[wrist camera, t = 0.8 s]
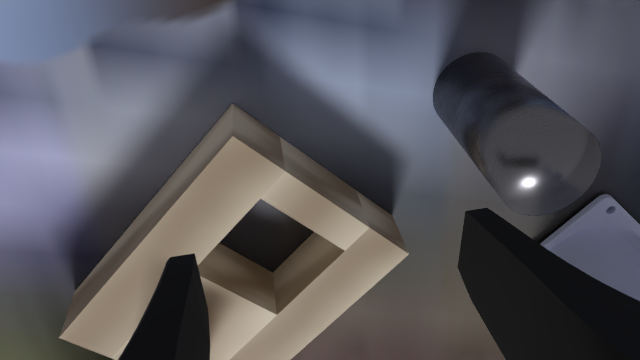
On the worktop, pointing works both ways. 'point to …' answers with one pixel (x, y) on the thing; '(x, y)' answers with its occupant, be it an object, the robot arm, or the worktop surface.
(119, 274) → the hitch block
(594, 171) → the steel peg
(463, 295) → the worktop surface
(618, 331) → the robot arm
